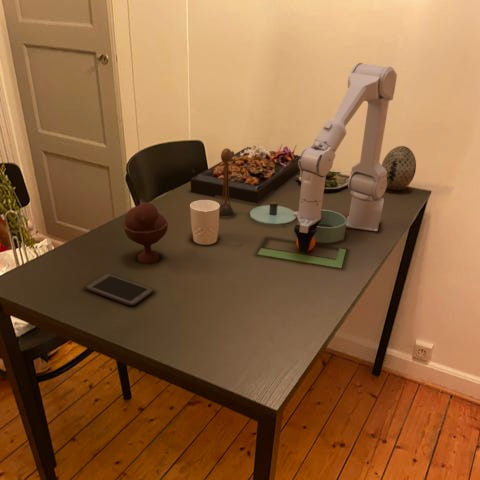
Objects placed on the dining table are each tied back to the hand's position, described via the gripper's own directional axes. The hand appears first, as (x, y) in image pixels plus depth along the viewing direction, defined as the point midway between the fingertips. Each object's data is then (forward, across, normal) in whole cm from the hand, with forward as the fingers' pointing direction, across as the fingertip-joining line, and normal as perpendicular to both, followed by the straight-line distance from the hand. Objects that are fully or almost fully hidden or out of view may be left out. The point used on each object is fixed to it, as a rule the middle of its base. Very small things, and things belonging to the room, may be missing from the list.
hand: (305, 247), depth 126 cm
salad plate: (+1, -56, -4) cm, 56 cm away
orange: (-2, 0, 0) cm, 2 cm away
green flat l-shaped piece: (+1, +1, 0) cm, 2 cm away
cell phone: (+1, +34, -36) cm, 50 cm away
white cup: (+2, +2, -28) cm, 28 cm away
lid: (+1, -20, -14) cm, 24 cm away
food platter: (+1, -52, -30) cm, 59 cm away
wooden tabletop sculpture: (+1, -16, -28) cm, 32 cm away
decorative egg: (+1, -60, +22) cm, 63 cm away
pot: (+1, -12, +2) cm, 13 cm away
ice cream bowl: (+2, +18, -38) cm, 41 cm away
